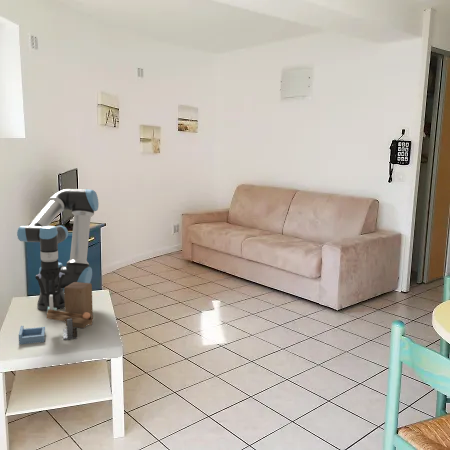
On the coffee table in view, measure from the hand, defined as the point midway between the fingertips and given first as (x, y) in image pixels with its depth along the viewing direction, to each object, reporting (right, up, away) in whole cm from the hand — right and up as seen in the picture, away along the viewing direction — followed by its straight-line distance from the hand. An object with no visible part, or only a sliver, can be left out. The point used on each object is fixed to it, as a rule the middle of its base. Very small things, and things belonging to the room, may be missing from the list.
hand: (51, 308), depth 222 cm
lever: (+8, -4, 0) cm, 9 cm away
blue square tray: (-6, -12, -7) cm, 15 cm away
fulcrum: (+9, -12, -2) cm, 15 cm away
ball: (+17, -3, -1) cm, 17 cm away
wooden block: (+10, -10, +11) cm, 18 cm away
